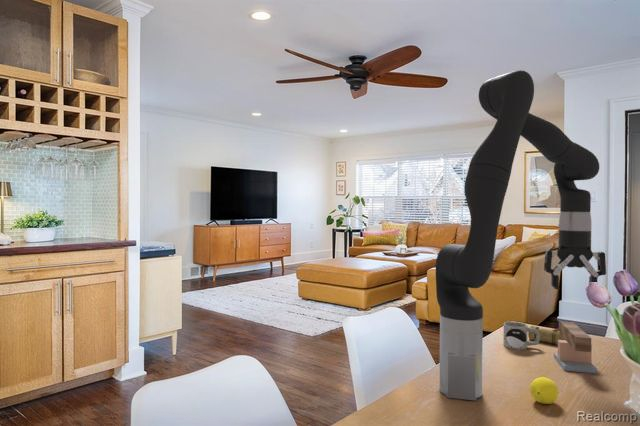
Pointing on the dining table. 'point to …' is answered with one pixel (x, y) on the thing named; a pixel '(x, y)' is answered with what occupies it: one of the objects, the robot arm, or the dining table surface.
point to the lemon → (544, 390)
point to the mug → (518, 336)
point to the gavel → (546, 335)
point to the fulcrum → (574, 358)
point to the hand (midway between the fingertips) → (573, 289)
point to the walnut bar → (575, 336)
